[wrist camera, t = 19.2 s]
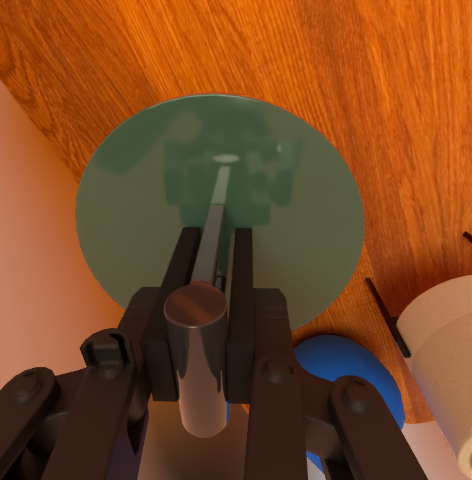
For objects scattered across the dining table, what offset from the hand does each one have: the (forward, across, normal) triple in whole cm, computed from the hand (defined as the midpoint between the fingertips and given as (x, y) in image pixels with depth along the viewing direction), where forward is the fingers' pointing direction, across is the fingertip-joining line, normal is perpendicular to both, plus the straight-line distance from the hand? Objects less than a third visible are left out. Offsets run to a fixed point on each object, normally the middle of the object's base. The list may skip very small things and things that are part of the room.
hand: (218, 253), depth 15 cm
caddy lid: (+1, 0, 0) cm, 1 cm away
